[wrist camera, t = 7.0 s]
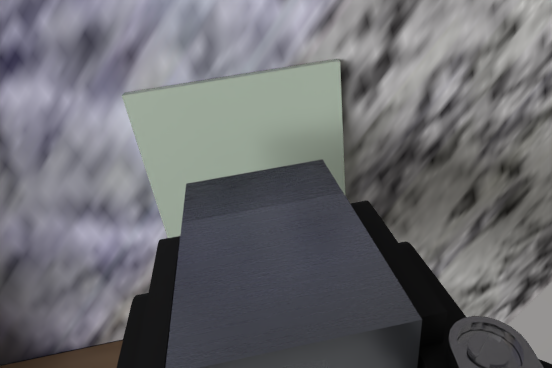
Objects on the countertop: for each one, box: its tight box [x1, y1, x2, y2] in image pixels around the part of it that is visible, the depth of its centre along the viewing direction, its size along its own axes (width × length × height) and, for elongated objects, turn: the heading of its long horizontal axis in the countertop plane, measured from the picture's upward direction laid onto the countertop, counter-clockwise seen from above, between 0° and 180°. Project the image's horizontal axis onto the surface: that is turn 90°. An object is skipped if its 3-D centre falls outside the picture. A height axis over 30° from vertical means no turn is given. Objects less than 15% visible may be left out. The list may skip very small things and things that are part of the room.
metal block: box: [165, 159, 422, 368], centre depth 10 cm, size 4×6×6 cm, turn 7°
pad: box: [122, 59, 345, 238], centre depth 16 cm, size 10×8×1 cm
